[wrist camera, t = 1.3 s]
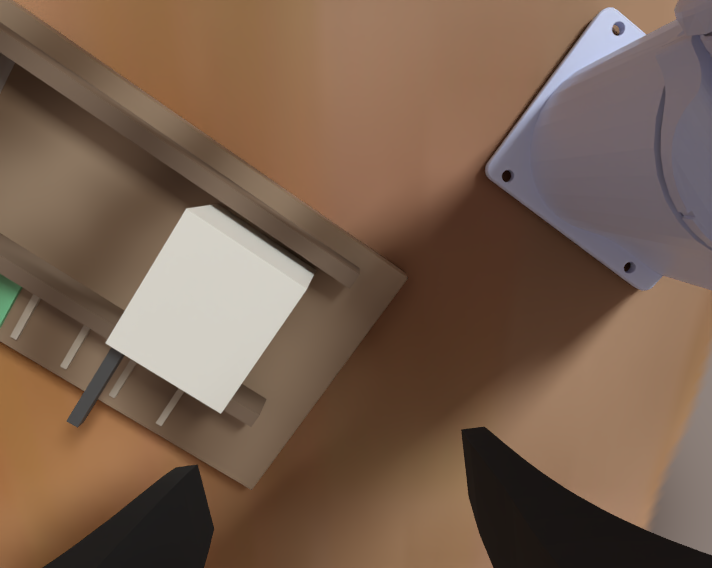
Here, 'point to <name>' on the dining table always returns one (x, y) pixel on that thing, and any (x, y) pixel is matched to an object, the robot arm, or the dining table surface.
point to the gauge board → (153, 247)
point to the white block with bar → (204, 309)
